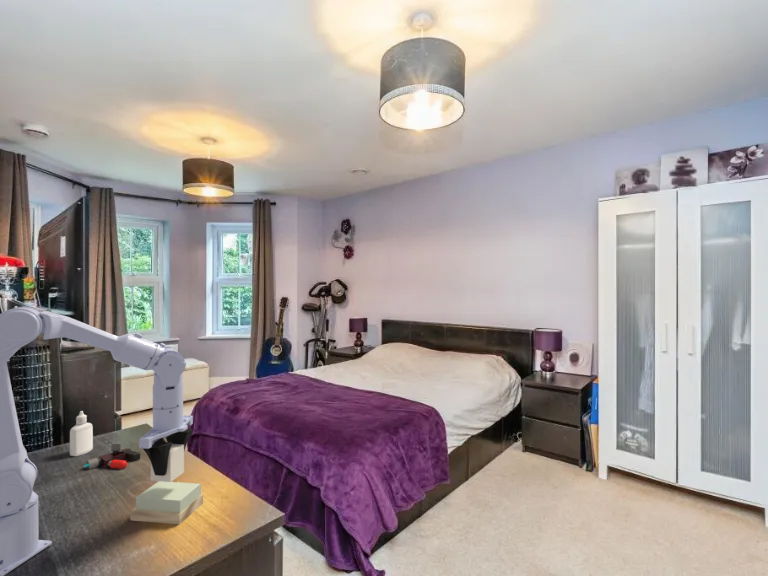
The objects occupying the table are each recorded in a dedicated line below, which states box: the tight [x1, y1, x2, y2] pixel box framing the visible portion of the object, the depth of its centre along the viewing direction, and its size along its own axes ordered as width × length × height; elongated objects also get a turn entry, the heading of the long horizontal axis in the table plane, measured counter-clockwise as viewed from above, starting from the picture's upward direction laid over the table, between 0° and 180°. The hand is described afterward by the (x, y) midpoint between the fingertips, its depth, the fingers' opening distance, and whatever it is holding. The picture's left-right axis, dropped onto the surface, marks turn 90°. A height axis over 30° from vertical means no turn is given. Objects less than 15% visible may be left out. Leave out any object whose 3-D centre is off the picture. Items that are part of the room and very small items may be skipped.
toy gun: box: [82, 442, 141, 470], centre depth 109 cm, size 10×12×5 cm
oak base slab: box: [130, 493, 204, 525], centre depth 86 cm, size 8×11×2 cm
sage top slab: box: [135, 481, 202, 513], centre depth 86 cm, size 7×10×2 cm
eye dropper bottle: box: [69, 410, 94, 457], centre depth 117 cm, size 4×6×12 cm
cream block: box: [150, 444, 185, 482], centre depth 87 cm, size 4×4×6 cm
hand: (168, 469), depth 86 cm, fingers closed on cream block, 4 cm apart
